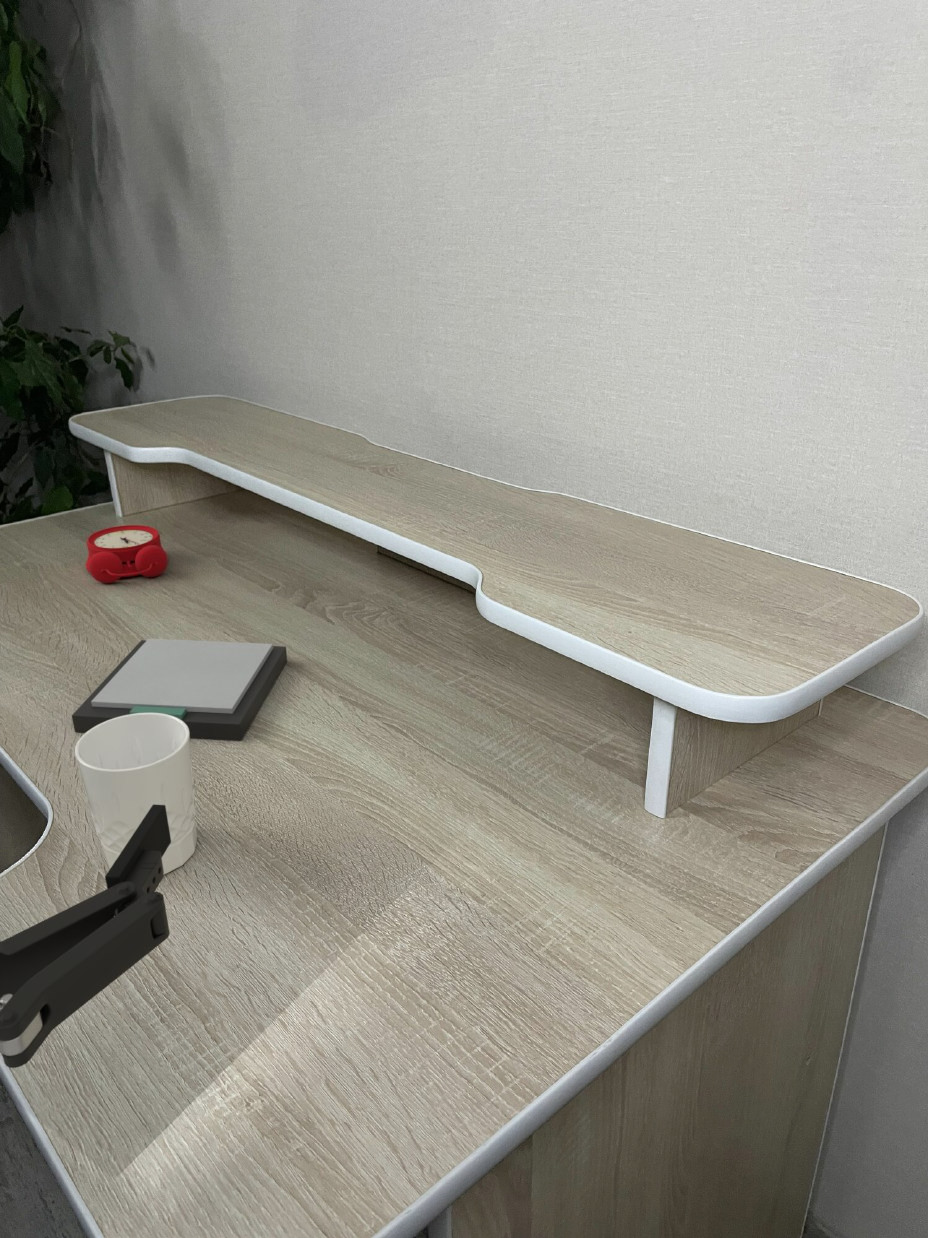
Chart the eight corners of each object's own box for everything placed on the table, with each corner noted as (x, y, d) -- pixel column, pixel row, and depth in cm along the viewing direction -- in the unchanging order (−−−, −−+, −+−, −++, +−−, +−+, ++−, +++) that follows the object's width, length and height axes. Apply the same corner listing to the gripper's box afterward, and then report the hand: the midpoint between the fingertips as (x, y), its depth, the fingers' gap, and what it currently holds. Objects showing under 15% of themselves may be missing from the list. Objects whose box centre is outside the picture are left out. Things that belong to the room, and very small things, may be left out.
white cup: (226, 840, 73) (212, 731, 69) (146, 900, 67) (125, 783, 63) (156, 808, 77) (139, 702, 72) (75, 861, 71) (50, 749, 66)
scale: (74, 732, 87) (70, 709, 86) (143, 654, 102) (140, 634, 101) (241, 741, 86) (239, 718, 85) (287, 661, 101) (285, 641, 100)
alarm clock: (158, 520, 132) (168, 529, 118) (165, 563, 133) (176, 578, 119) (79, 529, 128) (80, 540, 114) (87, 574, 129) (89, 590, 116)
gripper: (-450, 1171, 40) (-124, 854, 59) (108, 1225, 38) (260, 878, 57) (-527, 1045, 37) (-156, 754, 56) (76, 1096, 35) (248, 775, 54)
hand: (54, 816), depth 57 cm, fingers open, 13 cm apart
